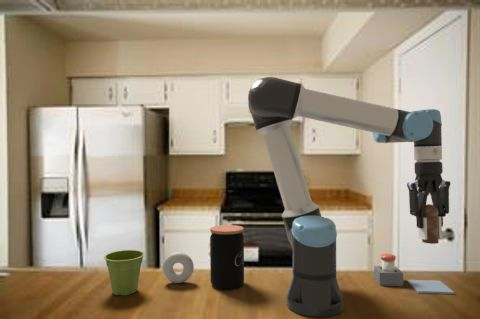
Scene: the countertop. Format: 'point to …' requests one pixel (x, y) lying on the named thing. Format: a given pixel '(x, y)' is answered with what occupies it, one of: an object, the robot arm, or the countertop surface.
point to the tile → (430, 286)
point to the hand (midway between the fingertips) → (430, 237)
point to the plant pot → (124, 270)
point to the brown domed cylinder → (431, 224)
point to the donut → (178, 276)
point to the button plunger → (388, 262)
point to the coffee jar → (227, 256)
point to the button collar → (388, 277)
